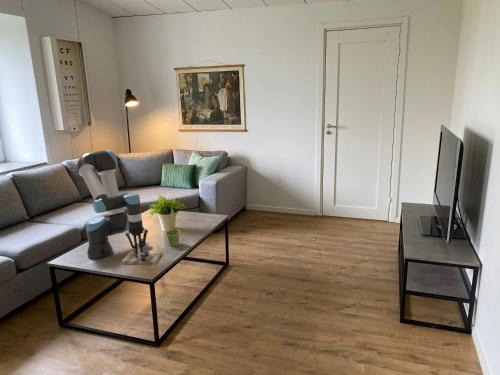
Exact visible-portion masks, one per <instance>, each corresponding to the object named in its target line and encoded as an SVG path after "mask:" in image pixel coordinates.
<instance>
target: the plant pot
mask: <svg viewBox="0 0 500 375" xmlns="http://www.w3.org/2000/svg"><path fill="white" fill-rule="evenodd" d="M180 234H181V230H179V229H169V230H167V231H166V232H165V236H166V238H167V240H168V245H169V246H171V247H176V246H178V245H179V243H180Z"/></svg>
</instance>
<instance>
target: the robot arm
mask: <svg viewBox="0 0 500 375" xmlns="http://www.w3.org/2000/svg"><path fill="white" fill-rule="evenodd" d="M118 165H119V162H118V157H117V155H116V154H115V152H114V151H113V150H112V149H111V150H110V149H109V150H105V149H104V150H99V151H91V152H86V153H83V154H82V155H81V156H80V157H79V158H78V161H77V163H76V169H77V173H78V174H79V176H81V177H82V178H83V181H84V182H85V184H86V186H87V189H88V190H89V193H90V194H91V196H92V198H93V202H92V207H93V211H94V213H96V214H102V213H106V212H107V213H106V217H105V216H95V217H92V218H90V219H89V220H87V221H86V223H85V228H86V229H85V230H86V234H87V235H86V236H87V242H88V248H87V252H86V253H87V254H86V256H87V258H89V259H93V260H99V259H104V258H107V257H109V256H111V255H112V254H113V252H114V249H113V247H112V244H111V243H110V240H109V237H111V236H115V235H119V234H123V233H124V234H125V236H126V238H127V239H128V242H129V244H130V246H131V248H132V249H134V251H135V252H136V254H138V258H139V259H141V253H142V247H143V246H145V242H147V241H146V240H147V234H148V232H149V230H148V229H147V228H144V225H143V217H142V216H143V215H142V208H141V206H142V205H141V199H140V194H139V193H137V192H131V193H127V192H122V193H120V192H119V188H118V183H117V179H116V174H115V172H116V171H117V169H116V168H117V167H118ZM97 174H98V175H99V176H100V179H99V176H98V175H97ZM100 180H101V181H100ZM124 208H126V210H125V209H124ZM126 212H127V213H126ZM142 232H143V233H142ZM142 234H143V235H142ZM131 235H132V236H133V237H132V238H133V241H132V239H131V237H130V236H131ZM142 238H143V241H142V242H141V239H142ZM133 243H134V244H133ZM137 243H139V247H137Z"/></svg>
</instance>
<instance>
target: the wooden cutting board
mask: <svg viewBox="0 0 500 375" xmlns="http://www.w3.org/2000/svg"><path fill="white" fill-rule="evenodd" d="M162 254H163V250H149V255H148V256H147V257H146V261H144V262H142V261H141V259H139V258H137V257H136V256H135V250H130V251H129V252H128V253H127V254H126V256H125V257H124V258H123V259H122V260H121V264H122V265H142V264H143V265H152V264H153V265H155V264H156V263H157V262H158V260H159V259H160V257H161V256H162Z"/></svg>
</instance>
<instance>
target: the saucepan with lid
mask: <svg viewBox="0 0 500 375" xmlns="http://www.w3.org/2000/svg"><path fill="white" fill-rule="evenodd" d="M137 247H139V246H137ZM149 251H150V249H149V246H147V245H145V246H143V247H142V253H141V261H142V262H144V261H146V257H147V256H148V255H149ZM135 256H136V257H137V258H138V254H136V252H135Z"/></svg>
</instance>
